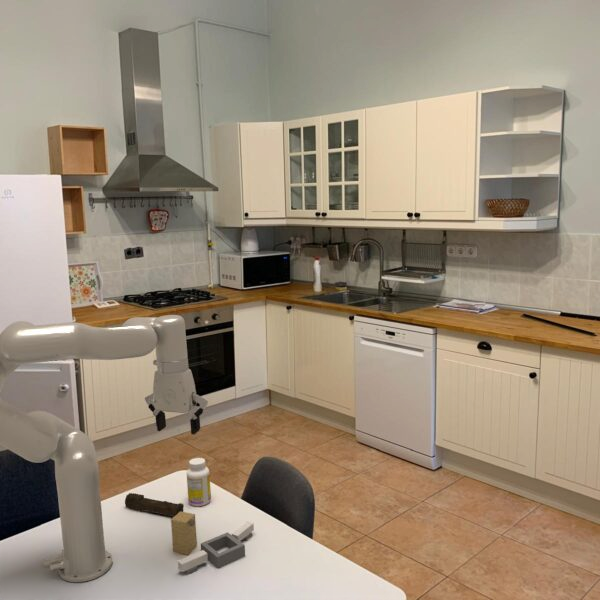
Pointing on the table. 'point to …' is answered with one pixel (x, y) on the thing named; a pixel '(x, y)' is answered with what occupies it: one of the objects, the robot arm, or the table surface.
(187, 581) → the table surface
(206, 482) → the supplement bottle
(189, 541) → the tan wooden block
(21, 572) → the table surface
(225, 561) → the socket
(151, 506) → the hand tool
